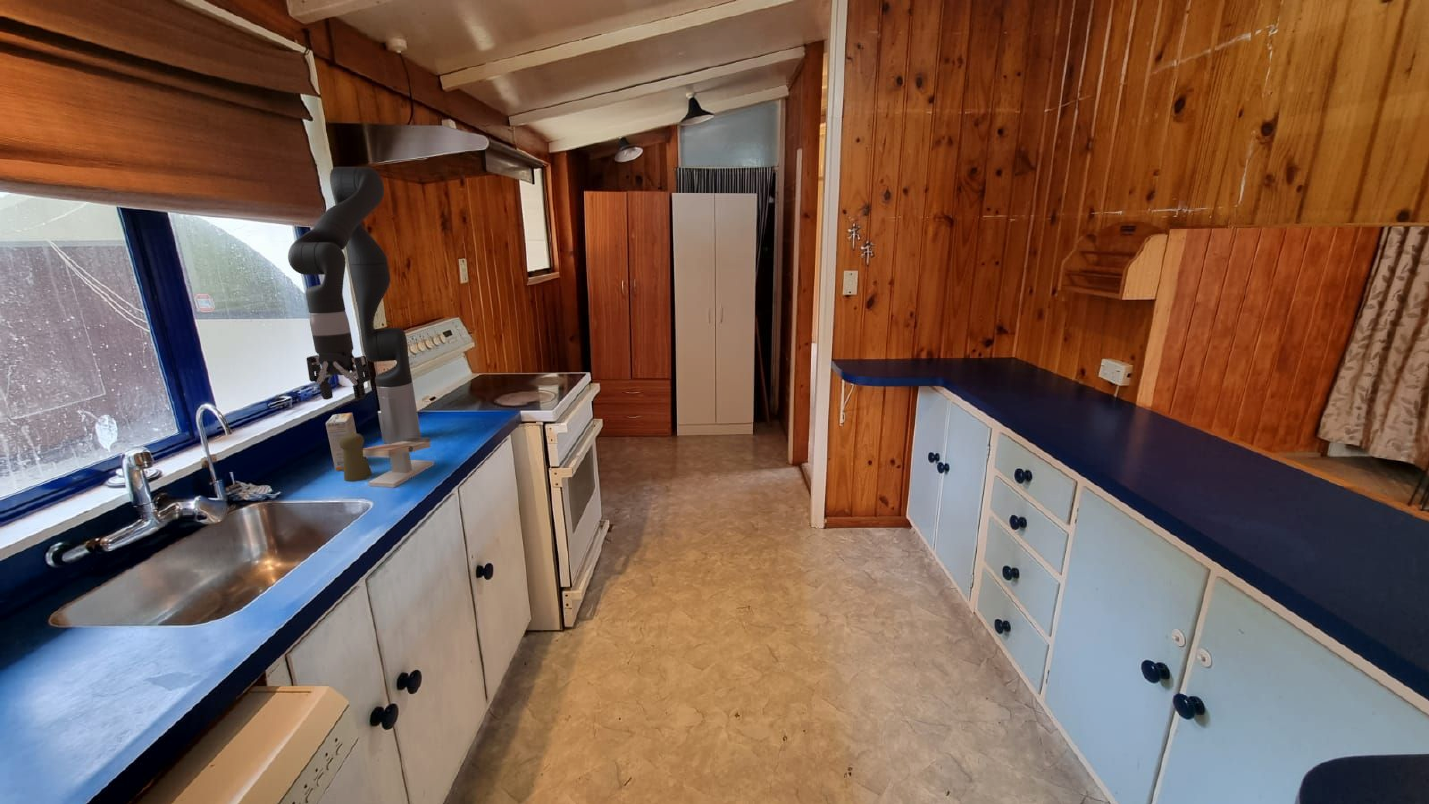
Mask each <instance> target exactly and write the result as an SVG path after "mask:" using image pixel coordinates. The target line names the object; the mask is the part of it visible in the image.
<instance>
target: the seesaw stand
mask: <svg viewBox="0 0 1429 804" xmlns="http://www.w3.org/2000/svg"><path fill="white" fill-rule="evenodd" d="M389 461H390V467H391V469H390V470H387V472H385V473H382V474H381V475H379V476H377V477H375V478H373V479H371V480H369V481H368V483H367V484H368V486H369V487H378V488H379V487H380V488H381V487H382V488H395V487H398V486H399V485H401V484H403V483H405V482H406V481H409V480H410V479H412V478H413V477H415V476H417V475H419V474H420V473H422V472H424V471H425V469H426V470H428V469H429V468H431V467H433V466H434V465H435V462H434V460H417V459H411V455H410V452H409V453H405V454H401V455H398V456H394V457H390V458H389ZM411 477H412V478H411ZM409 478H410V479H409Z"/></svg>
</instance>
